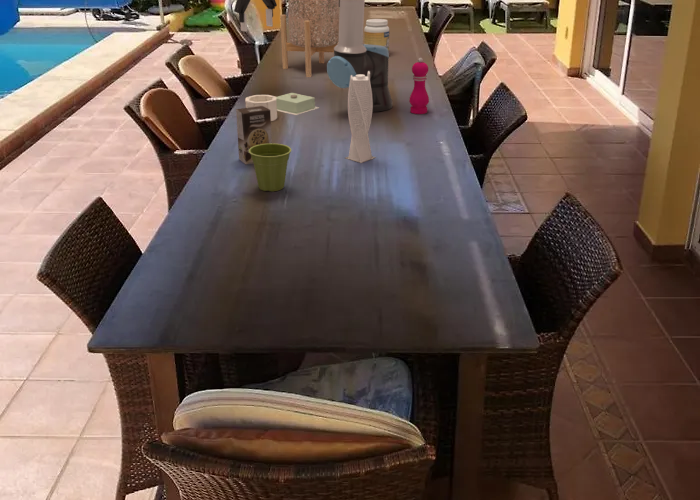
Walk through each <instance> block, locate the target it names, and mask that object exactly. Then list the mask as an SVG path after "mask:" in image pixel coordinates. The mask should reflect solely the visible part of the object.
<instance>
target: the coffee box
mask: <svg viewBox="0 0 700 500" xmlns="http://www.w3.org/2000/svg"><path fill="white" fill-rule="evenodd" d="M235 112H236V113H235V114H236V128H237V129H236V130H237V148H238V149H237V150H238V159H239V160H240V161H241V162H242V163H243V164H244V165H252V164H253V165H254V163H253V160H252V157H251V154H250V153H249V149H250V148H251V147H253V146H256V145H260V144H269V143H272V142H273V141H272V121H271V115H270V110H269V109H268V108H266V107H264V106H257V107H249V108H246V107H242V108H236V109H235Z"/></svg>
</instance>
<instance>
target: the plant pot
mask: <svg viewBox="0 0 700 500" xmlns="http://www.w3.org/2000/svg"><path fill="white" fill-rule="evenodd" d="M291 152H292V148H291V147H290V146H289V145H287V144H281V143H276V142H275V143H269V144H260V145H256V146H253V147H251V148H250V149H249V153H250V154H251V157H252V160H253V166H254V167H253V168H254V171H255V176H256V181H257V186H258V189H259V190H261V191H264V192H266V191H269V192H278V191H280V190H283V188H284V187H285V182H286V175H287V167H288V163H289V162H288V161H289V158H290V154H291Z"/></svg>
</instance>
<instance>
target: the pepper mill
mask: <svg viewBox="0 0 700 500" xmlns="http://www.w3.org/2000/svg"><path fill="white" fill-rule="evenodd" d="M417 59H418V60H417V62H415V63H413V65H412V67H411V72H412V74H413V75H412V77H413V78H412V80H413V83H414V84H413V85H414V86H413V89H412V92H411V93H410V94H409V95H410V96H409V101H408V102H409V103H410V104H409V105H411V106H410V109H409V112H410V113H411V114H415V115H423V114H427V113H428V104H429V102H430V98H429V94H428V92H427V89H426V80H427V77H428V76H427V74H428V73H429V65H428V64H427V63H426V62H423V61H424V60H423V58H422V57H419V58H417Z"/></svg>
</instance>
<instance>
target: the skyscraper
mask: <svg viewBox="0 0 700 500" xmlns="http://www.w3.org/2000/svg"><path fill="white" fill-rule="evenodd" d="M372 109H373V101H372V91H371V84H370V71H368V76H365V75H362V74H359V75H356V77H352V75H351V76H350V84H349V88H348V94H347V114H348V115H347V116H348V117H347V118H348V123H349V128H350V133H351V138H350V145H349V150H348V156H347V157H344V159H346V160H348V161H352V162H355V163H359V164H364V163H365V162H369V161H371V160H375V159H377V156H374V155H372V150H371V144H370V143H371V142H370V139H369V131H370V127H371V123H372V118H373V117H372V116H373V112H372Z"/></svg>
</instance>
